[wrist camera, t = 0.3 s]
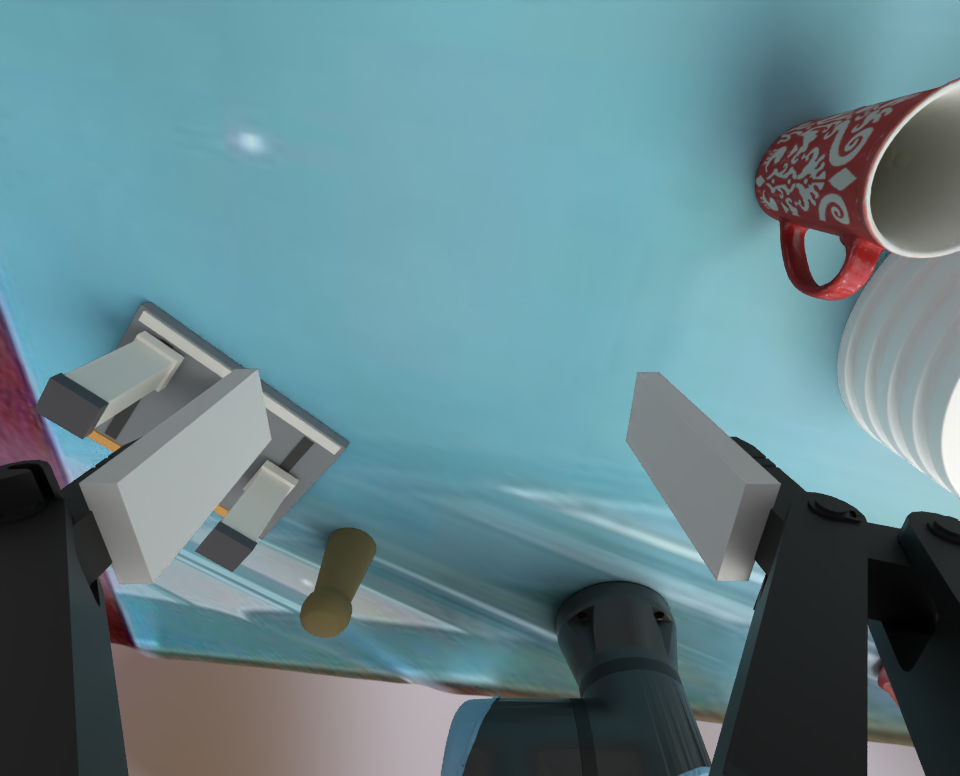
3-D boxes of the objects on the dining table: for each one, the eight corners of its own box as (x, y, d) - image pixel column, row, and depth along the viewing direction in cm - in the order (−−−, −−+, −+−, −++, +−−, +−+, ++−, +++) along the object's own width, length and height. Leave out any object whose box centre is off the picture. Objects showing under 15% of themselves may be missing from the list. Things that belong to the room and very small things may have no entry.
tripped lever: (278, 503, 50) (231, 574, 42) (247, 483, 49) (192, 552, 40) (298, 480, 49) (255, 549, 40) (267, 459, 48) (214, 525, 39)
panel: (266, 532, 55) (261, 540, 53) (81, 421, 48) (70, 428, 47) (349, 442, 48) (345, 449, 47) (149, 301, 42) (139, 305, 41)
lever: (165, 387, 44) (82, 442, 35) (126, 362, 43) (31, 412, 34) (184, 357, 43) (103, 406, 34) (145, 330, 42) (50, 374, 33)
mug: (789, 85, 33) (957, 36, 21) (889, 132, 34) (1104, 112, 22) (695, 249, 38) (787, 286, 26) (785, 286, 40) (912, 337, 27)
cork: (366, 569, 57) (339, 653, 47) (321, 553, 56) (283, 635, 46) (383, 538, 55) (358, 620, 45) (336, 520, 53) (300, 600, 44)
